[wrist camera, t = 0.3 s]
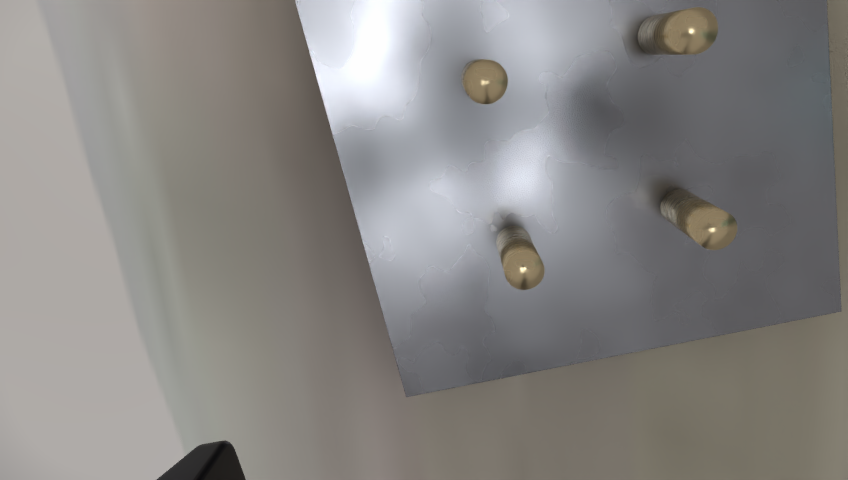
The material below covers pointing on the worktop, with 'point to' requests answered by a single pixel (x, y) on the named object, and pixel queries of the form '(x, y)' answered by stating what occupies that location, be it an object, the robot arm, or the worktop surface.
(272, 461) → the worktop surface
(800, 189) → the metal base plate
